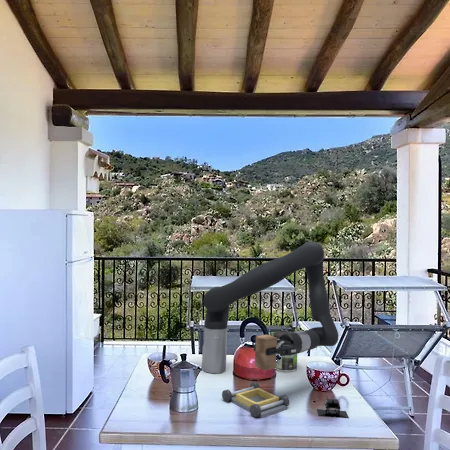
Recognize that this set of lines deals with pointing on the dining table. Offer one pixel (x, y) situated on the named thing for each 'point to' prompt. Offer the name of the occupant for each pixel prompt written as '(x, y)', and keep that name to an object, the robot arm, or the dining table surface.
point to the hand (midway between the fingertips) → (260, 350)
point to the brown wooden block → (260, 357)
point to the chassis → (257, 400)
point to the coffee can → (286, 358)
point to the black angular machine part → (332, 413)
